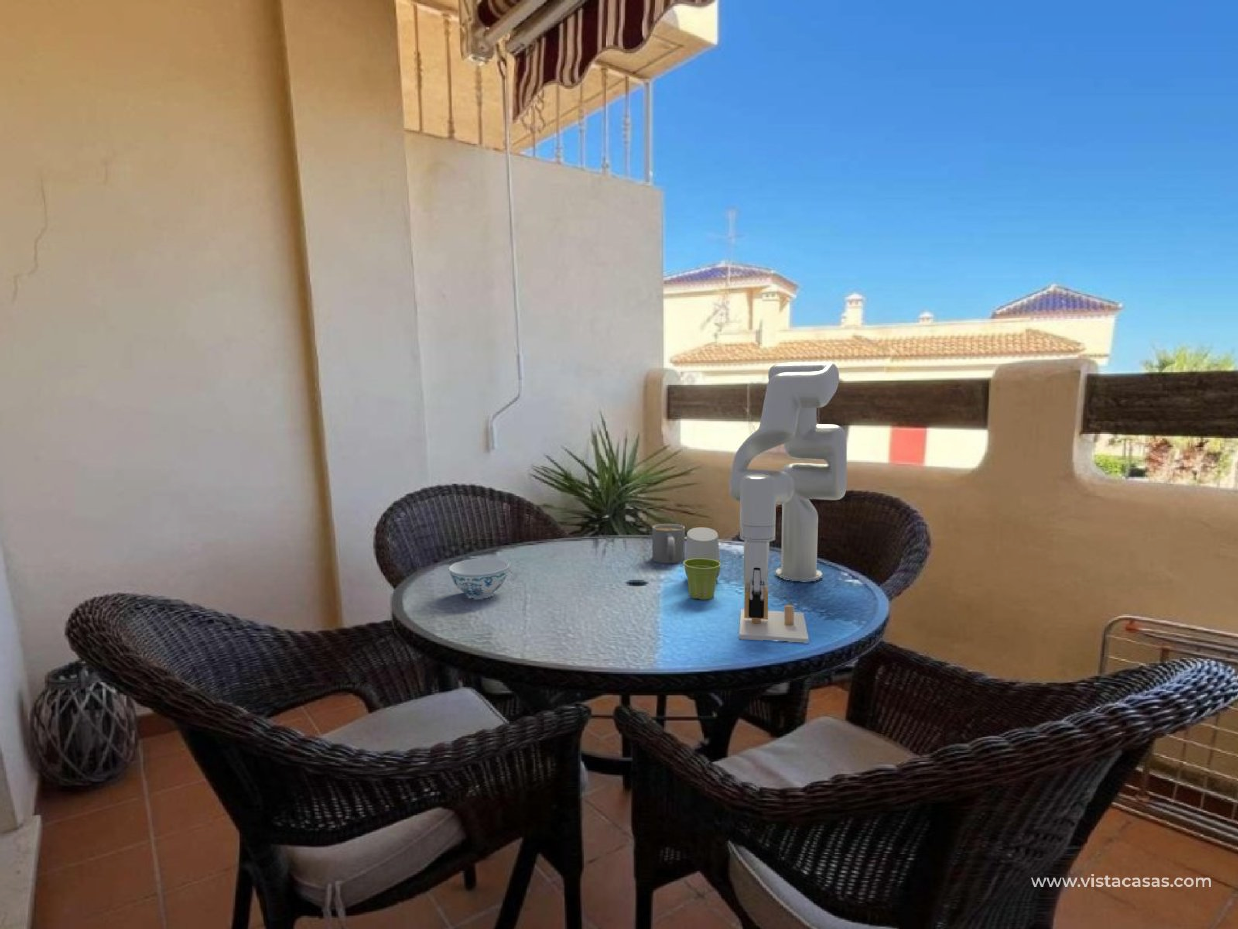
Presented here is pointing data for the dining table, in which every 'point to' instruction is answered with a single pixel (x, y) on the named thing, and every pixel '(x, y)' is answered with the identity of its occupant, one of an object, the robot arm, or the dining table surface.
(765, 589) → the tan cardboard-like box
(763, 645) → the dining table surface
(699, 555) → the smart speaker
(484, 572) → the chinaware
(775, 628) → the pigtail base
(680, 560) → the coffee mug
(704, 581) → the plant pot
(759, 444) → the robot arm
